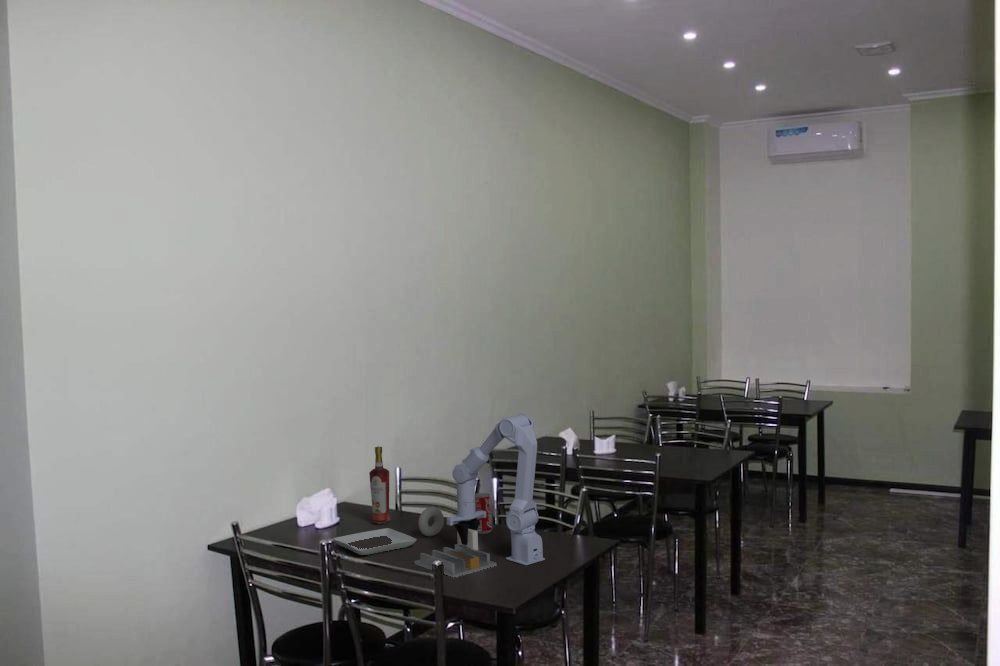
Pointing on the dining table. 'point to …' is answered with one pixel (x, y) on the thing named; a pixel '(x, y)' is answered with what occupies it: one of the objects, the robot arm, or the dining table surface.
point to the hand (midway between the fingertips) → (467, 543)
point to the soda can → (484, 505)
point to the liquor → (379, 489)
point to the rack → (457, 560)
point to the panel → (470, 539)
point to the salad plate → (397, 537)
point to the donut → (425, 518)
